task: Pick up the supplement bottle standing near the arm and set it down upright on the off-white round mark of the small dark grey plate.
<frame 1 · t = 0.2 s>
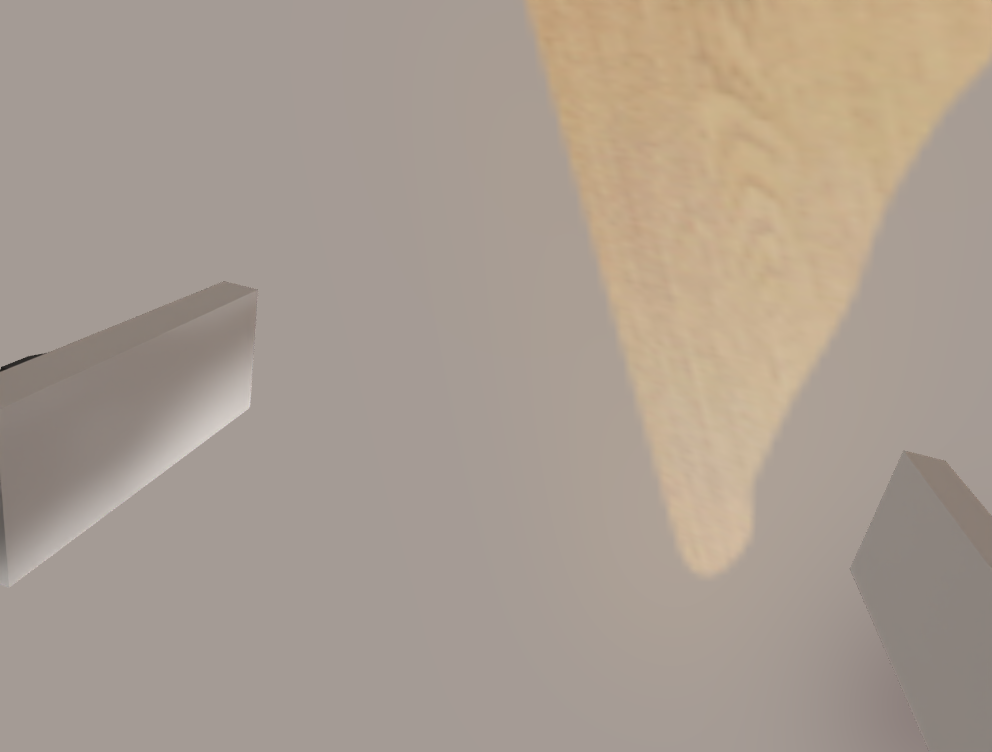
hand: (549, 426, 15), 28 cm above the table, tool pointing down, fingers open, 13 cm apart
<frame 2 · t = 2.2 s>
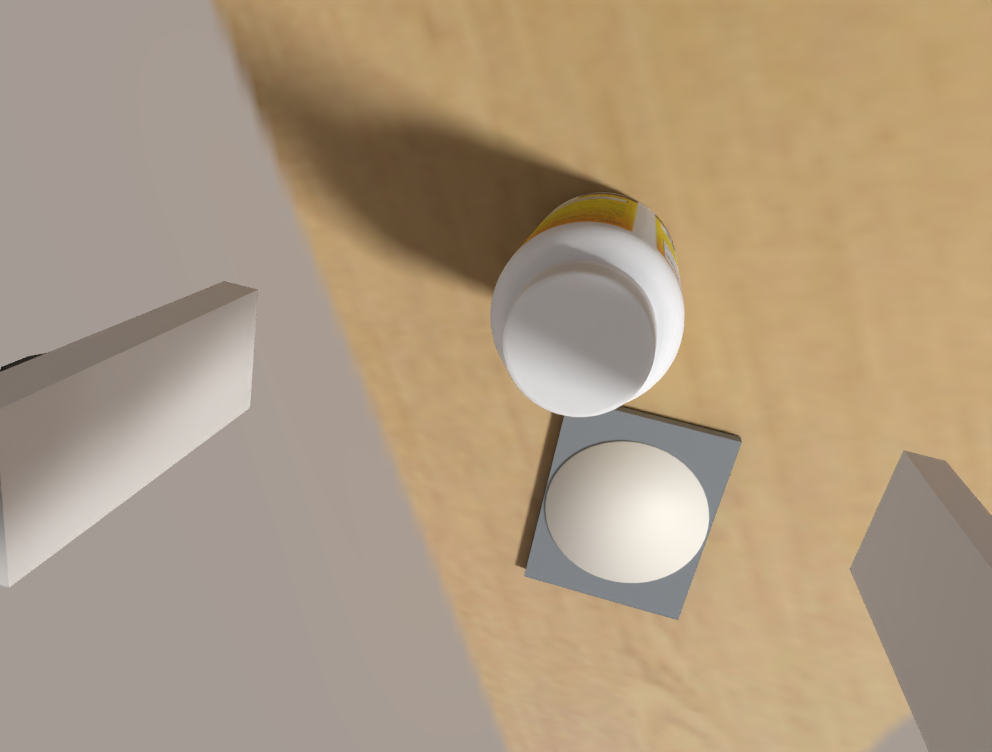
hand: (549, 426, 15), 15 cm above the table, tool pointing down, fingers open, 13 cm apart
seat plate: (625, 507, 31), on the table
supplement bottle: (602, 263, 28), on the table
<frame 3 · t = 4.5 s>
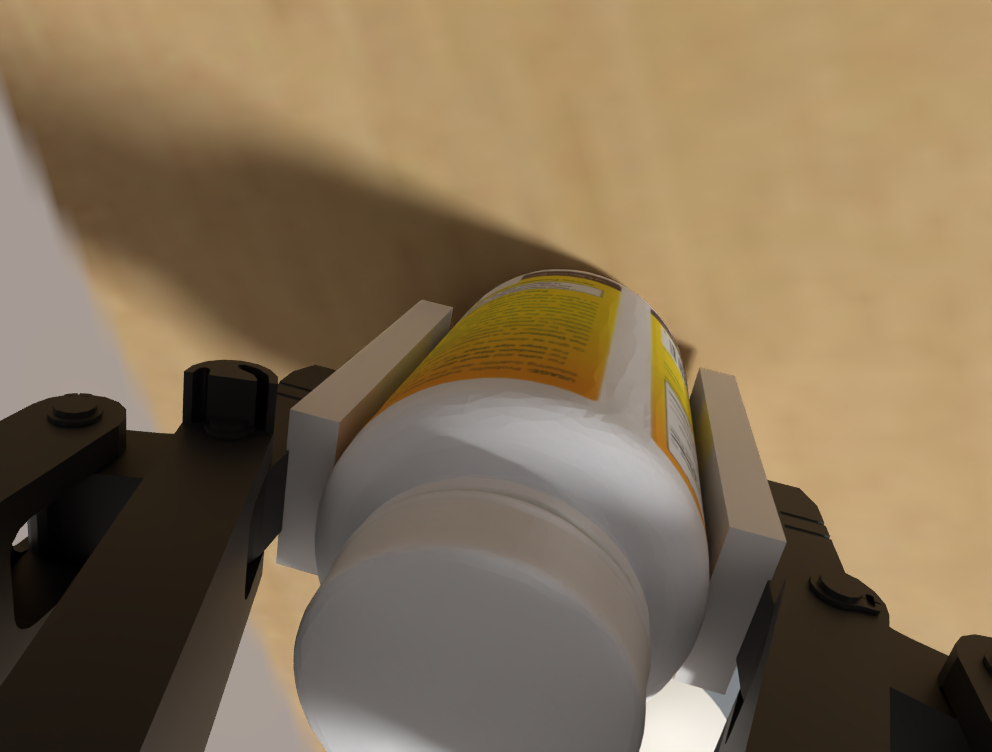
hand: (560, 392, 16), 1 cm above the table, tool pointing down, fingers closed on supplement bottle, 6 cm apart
seat plate: (607, 732, 21), on the table
supplement bottle: (566, 377, 17), on the table, touching gripper
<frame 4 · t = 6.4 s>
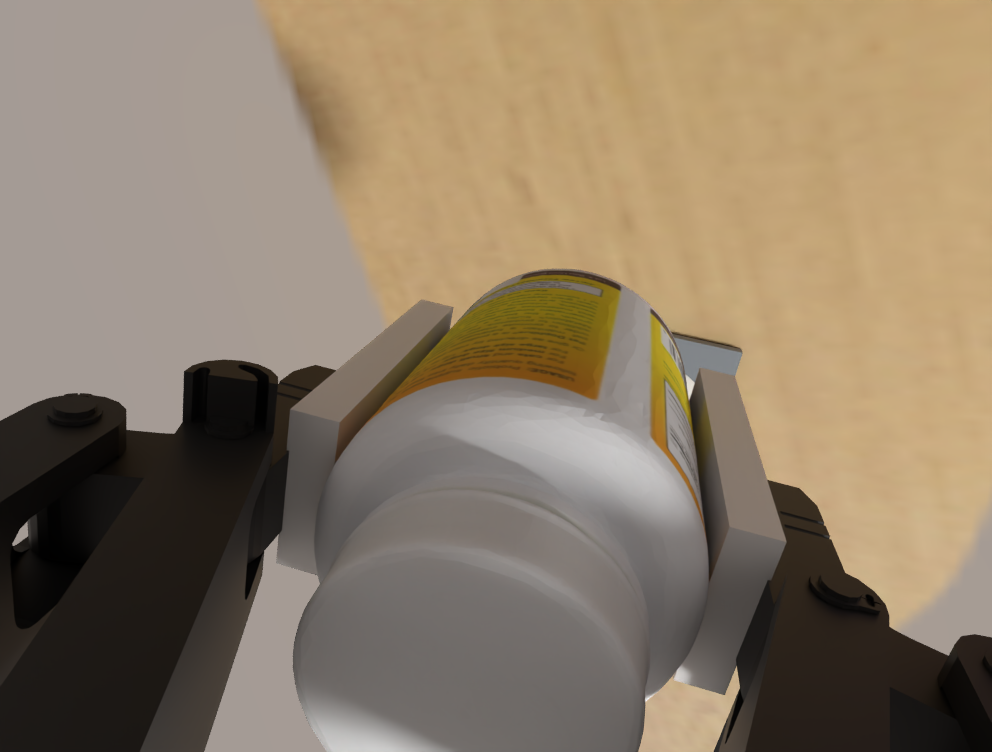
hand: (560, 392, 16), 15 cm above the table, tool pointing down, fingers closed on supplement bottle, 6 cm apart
seat plate: (633, 423, 33), on the table
supplement bottle: (565, 376, 17), point 14 cm above the table, touching gripper
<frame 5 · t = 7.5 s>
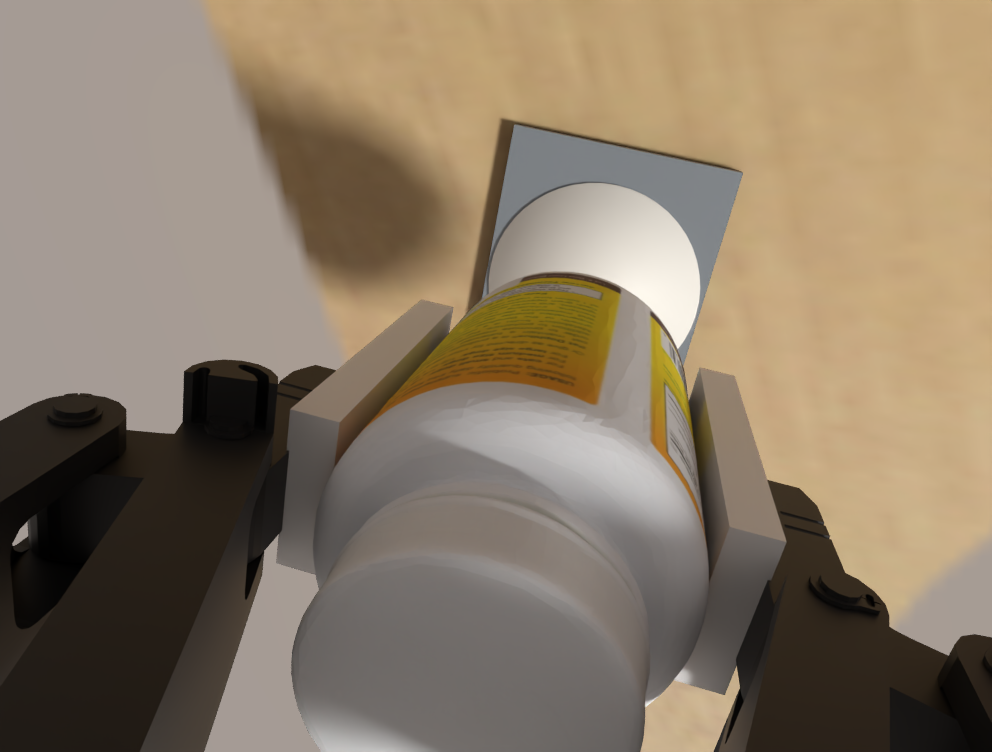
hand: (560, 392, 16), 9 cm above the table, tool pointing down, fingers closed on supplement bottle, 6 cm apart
seat plate: (592, 286, 24), on the table
supplement bottle: (565, 379, 17), point 8 cm above the table, touching gripper
when the fingers open (2 cm above the table, at t = 8.6 s): supplement bottle stays where it is, resting on seat plate.
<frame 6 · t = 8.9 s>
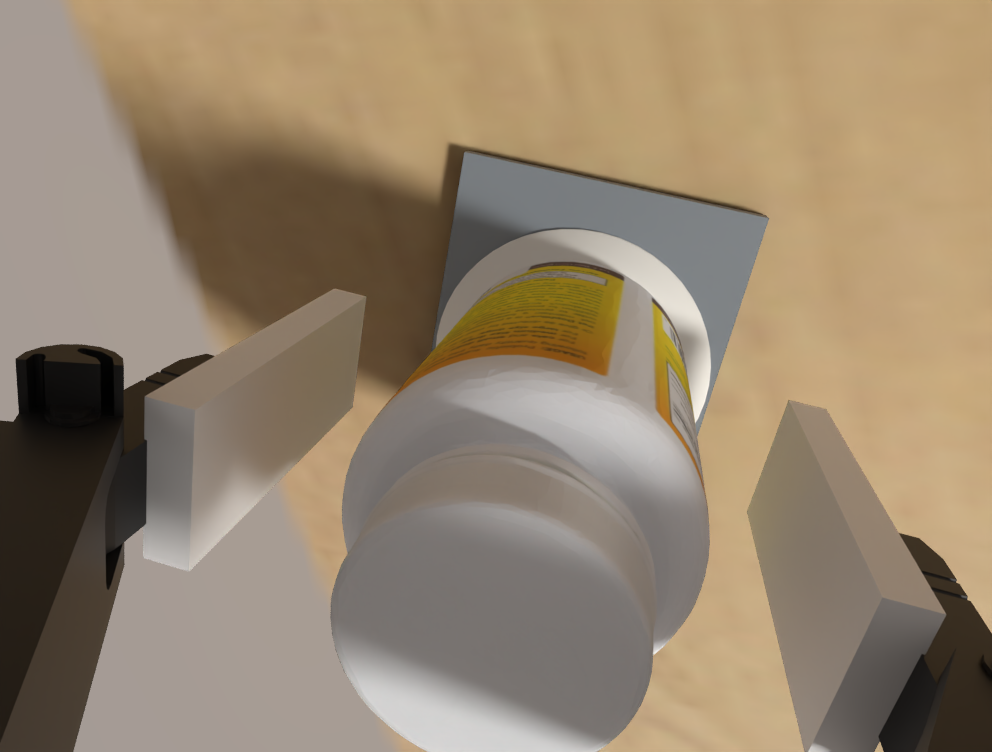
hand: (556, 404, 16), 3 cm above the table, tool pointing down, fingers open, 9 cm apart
seat plate: (570, 360, 19), on the table
supplement bottle: (570, 364, 18), resting on seat plate
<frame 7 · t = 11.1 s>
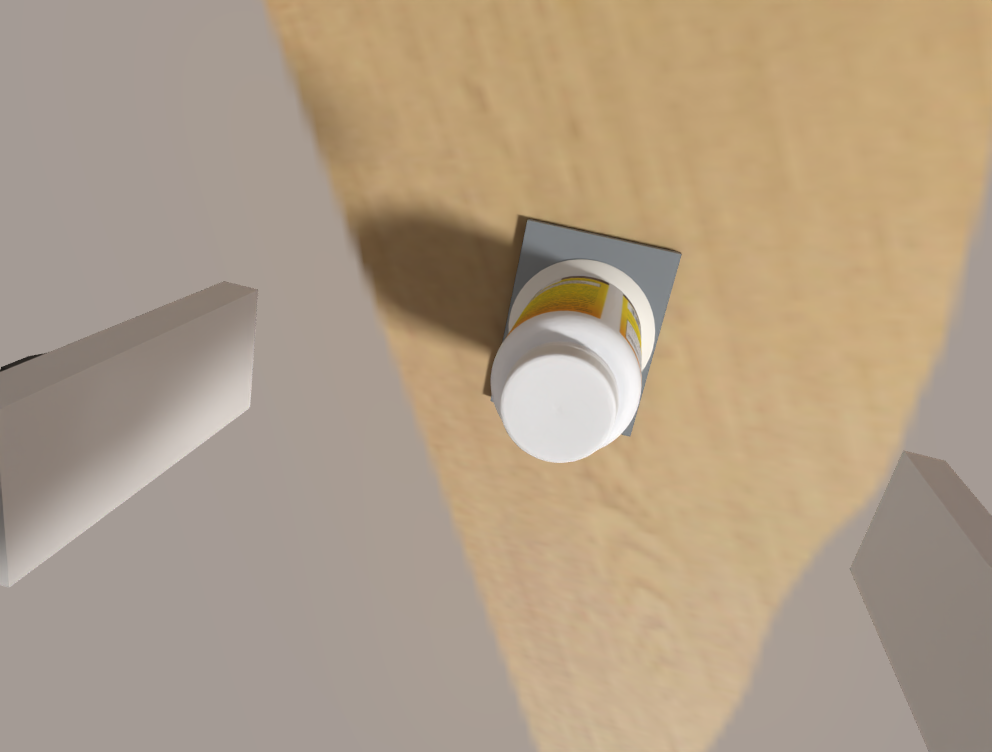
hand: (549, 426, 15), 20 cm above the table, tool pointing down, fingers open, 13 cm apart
seat plate: (581, 329, 35), on the table
supplement bottle: (581, 330, 34), resting on seat plate
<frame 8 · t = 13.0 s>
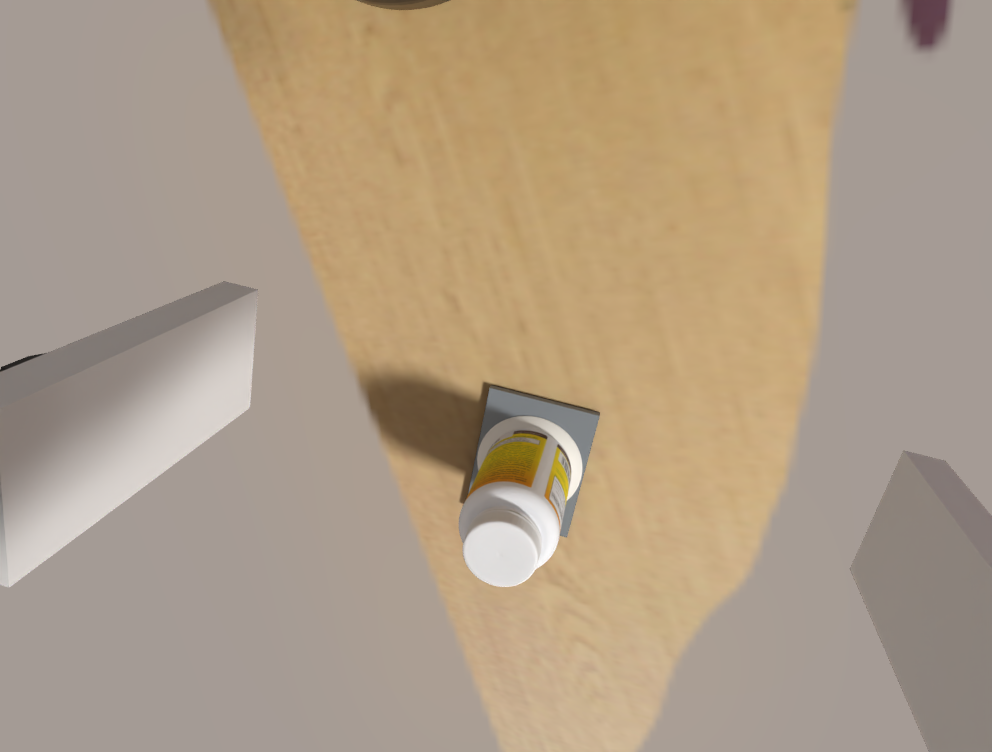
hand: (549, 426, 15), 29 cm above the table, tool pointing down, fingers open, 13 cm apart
seat plate: (530, 461, 47), on the table
supplement bottle: (530, 463, 47), resting on seat plate
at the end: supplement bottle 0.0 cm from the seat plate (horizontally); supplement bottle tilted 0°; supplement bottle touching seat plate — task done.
